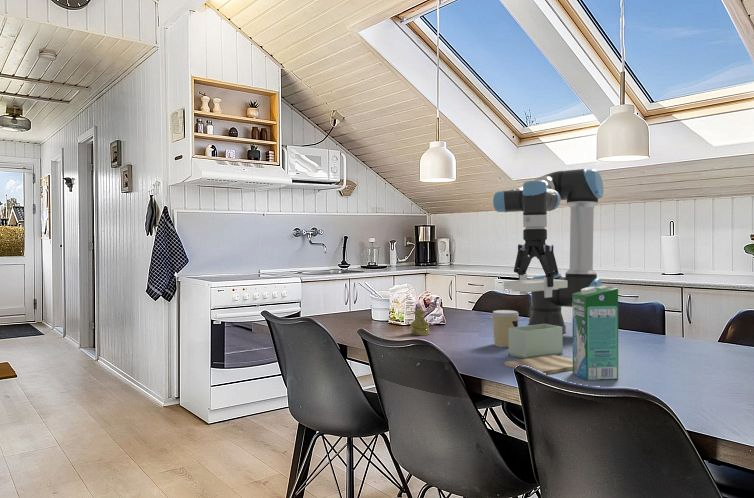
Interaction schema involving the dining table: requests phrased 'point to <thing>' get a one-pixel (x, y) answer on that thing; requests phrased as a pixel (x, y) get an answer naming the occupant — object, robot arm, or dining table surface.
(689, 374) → the dining table surface
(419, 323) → the olive green tiered cone
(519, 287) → the lid
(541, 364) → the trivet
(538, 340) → the box
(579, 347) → the milk carton
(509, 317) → the coffee cup
